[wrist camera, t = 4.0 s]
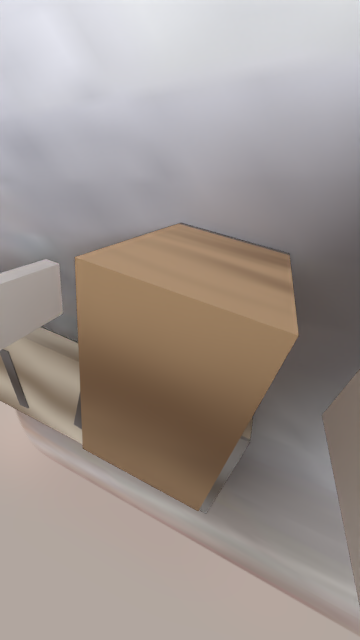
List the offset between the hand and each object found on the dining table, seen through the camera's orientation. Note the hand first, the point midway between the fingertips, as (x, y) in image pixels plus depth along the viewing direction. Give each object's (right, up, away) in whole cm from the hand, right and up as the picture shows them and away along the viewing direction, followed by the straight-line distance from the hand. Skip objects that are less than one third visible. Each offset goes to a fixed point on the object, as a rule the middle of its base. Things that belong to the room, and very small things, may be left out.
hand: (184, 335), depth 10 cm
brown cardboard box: (+1, +1, +2) cm, 3 cm away
